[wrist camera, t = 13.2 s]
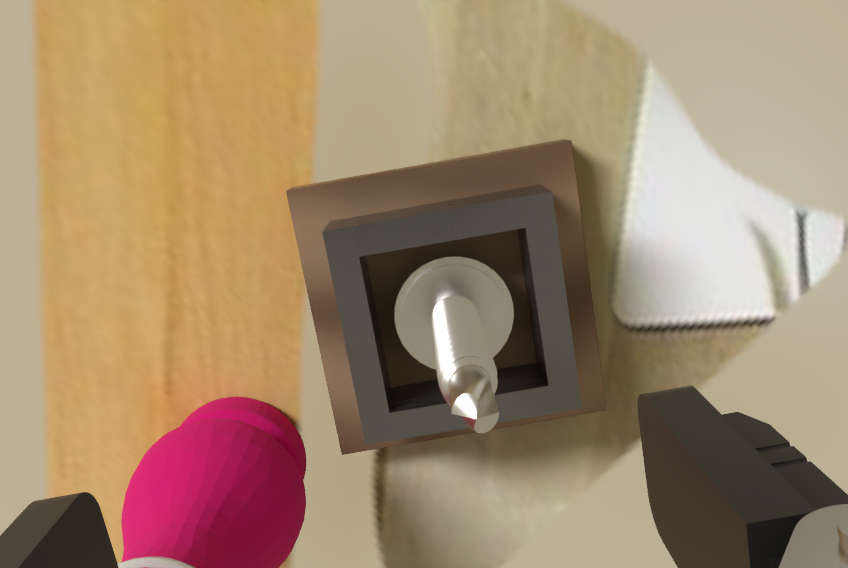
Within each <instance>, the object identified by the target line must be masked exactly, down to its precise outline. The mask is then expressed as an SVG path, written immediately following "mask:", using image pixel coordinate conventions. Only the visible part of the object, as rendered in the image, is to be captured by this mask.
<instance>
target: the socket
mask: <svg viewBox="0 0 848 568" xmlns="http://www.w3.org/2000/svg"><path fill="white" fill-rule="evenodd" d="M516 229H517V232H518V239H519V246H520V253H521V259H522V266H523V273H524V280H525V286H526V293H527V300H528V306H529V313H530V320H531V327H532V333H533V340H534V347H535V353H536V360H537V362H536V363H530V364H525V365H519V366H513V367H507V368H501V369H497V379H498V385H497V390H496V392H495V394H494V397H495V400H496V404H497V407H498V410H499V417H498V420H497V423H500V422H506V421H512V420H517V419H523V418H529V417H535V416H541V415H547V414H553V413H559V412H565V411H571V410H577V409H582V405H581V397H580V390H579V383H578V375H577V368H576V361H575V354H574V346H573V339H572V332H571V324H570V317H569V310H568V303H567V295H566V288H565V281H564V274H563V266H562V259H561V252H560V244H559V237H558V230H557V223H556V215H555V208H554V201H553V193H552V191H550V190H549V189H547V188H545V187H543V186H541V185H540V184H539V185H533V186H527V187H521V188H516V189H510V190H504V191H499V192H493V193H487V194H482V195H476V196H470V197H464V198H459V199H453V200H447V201H442V202H436V203H430V204H425V205H419V206H413V207H407V208H402V209H396V210H390V211H385V212H379V213H373V214H368V215H362V216H356V217H351V218H345V219H339V220H333V221H330V222H329V223H328V225H327V226H326V227H325V229H324V230H323V231H322V233H323V238H324V243H325V248H326V253H327V258H328V263H329V268H330V273H331V277H332V282H333V287H334V292H335V297H336V302H337V307H338V312H339V317H340V322H341V326H342V331H343V336H344V341H345V346H346V351H347V356H348V361H349V366H350V370H351V375H352V380H353V385H354V390H355V395H356V400H357V405H358V410H359V415H360V419H361V424H362V429H363V434H364V439H365V444H366V445H370V444H376V443H382V442H388V441H394V440H399V439H405V438H411V437H417V436H423V435H429V434H435V433H441V432H447V431H453V430H458V429H464V428H470V426H469V425H468V424H467V423H466V422H465V421H464V420H463V419H462V417H461V416H459V415H454V414H451V407H450V406H449V405H448V403H447V402H446V401H445V399H444V397H443V394H442V393H441V391H440V388H439V383H438V379H437V380H431V381H425V382H419V383H413V384H407V385H402V386H396V387H391V384H390V378H389V373H388V368H387V363H386V358H385V353H384V347H383V342H382V337H381V332H380V327H379V321H378V316H377V311H376V306H375V301H374V296H373V290H372V285H371V280H370V275H369V270H368V265H367V259H366V256H367V255H373V254H378V253H384V252H390V251H396V250H401V249H407V248H413V247H419V246H424V245H430V244H436V243H441V242H447V241H453V240H459V239H464V238H470V237H476V236H482V235H487V234H493V233H499V232H505V231H510V230H516Z"/></svg>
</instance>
